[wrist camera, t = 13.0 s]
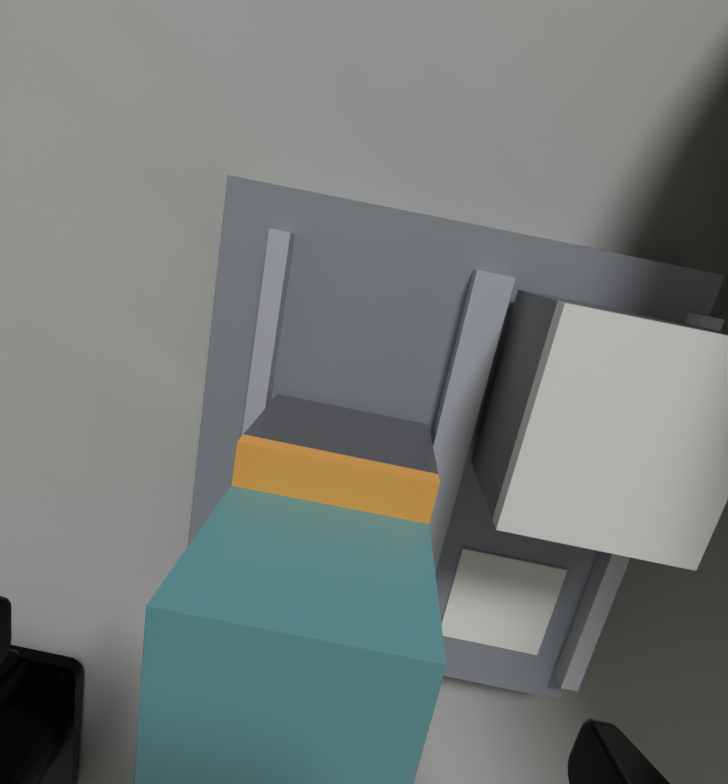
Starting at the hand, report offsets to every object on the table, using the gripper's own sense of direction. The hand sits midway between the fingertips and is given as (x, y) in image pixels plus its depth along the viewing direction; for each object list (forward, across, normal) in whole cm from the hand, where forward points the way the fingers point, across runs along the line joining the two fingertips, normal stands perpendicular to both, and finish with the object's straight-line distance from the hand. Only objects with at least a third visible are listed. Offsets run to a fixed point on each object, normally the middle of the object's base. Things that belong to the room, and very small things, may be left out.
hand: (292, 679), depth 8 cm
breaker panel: (+8, -2, -1) cm, 8 cm away
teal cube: (+3, 0, 0) cm, 3 cm away
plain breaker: (+6, -5, -4) cm, 9 cm away
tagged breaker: (+6, 0, 0) cm, 6 cm away
